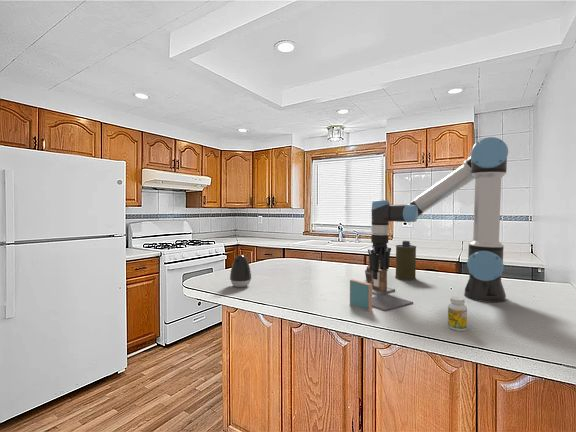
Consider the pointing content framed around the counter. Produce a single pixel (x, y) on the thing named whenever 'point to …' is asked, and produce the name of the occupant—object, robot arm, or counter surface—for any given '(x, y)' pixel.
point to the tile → (361, 295)
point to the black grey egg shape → (240, 272)
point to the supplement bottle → (457, 314)
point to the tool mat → (388, 302)
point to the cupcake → (369, 273)
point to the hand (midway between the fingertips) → (379, 285)
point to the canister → (405, 261)
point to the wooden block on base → (381, 284)
